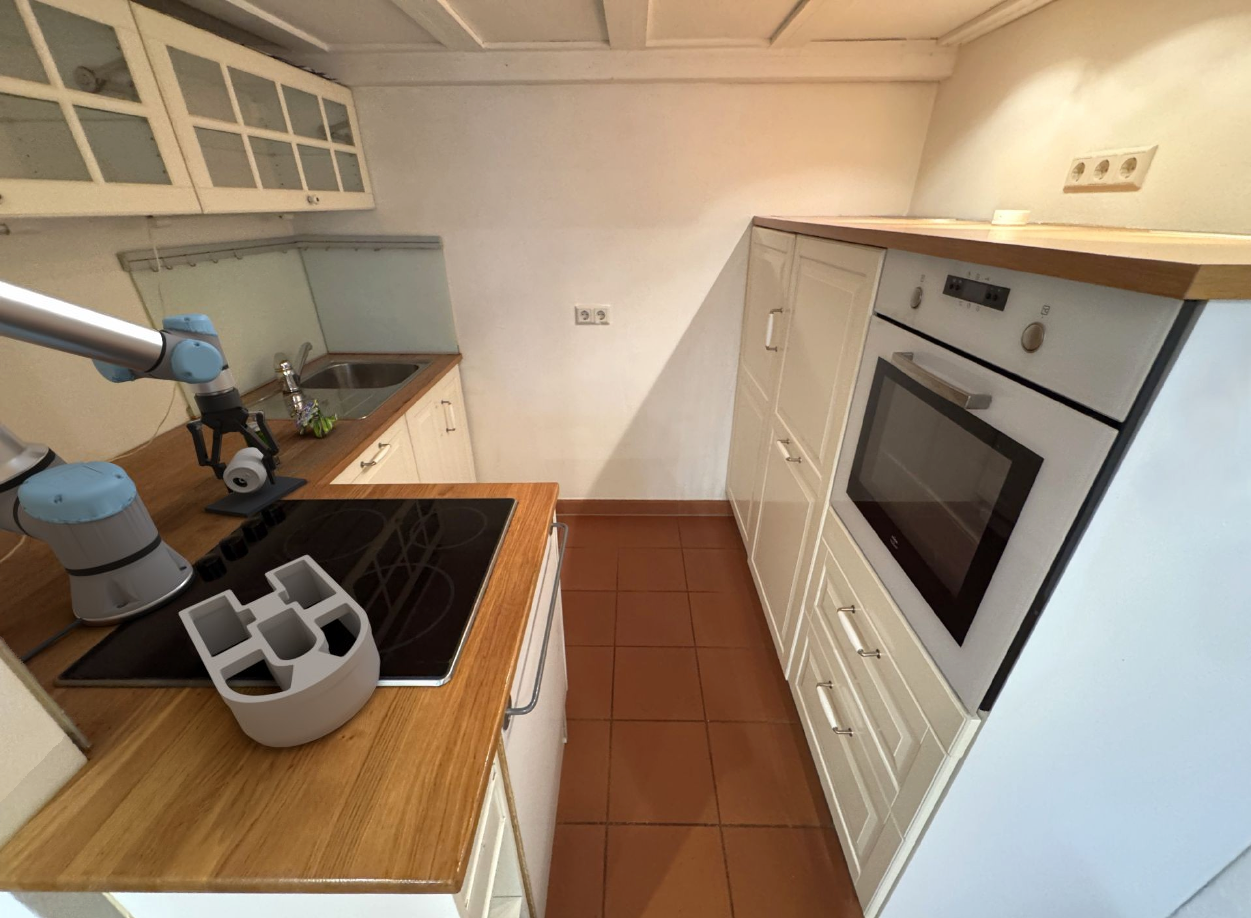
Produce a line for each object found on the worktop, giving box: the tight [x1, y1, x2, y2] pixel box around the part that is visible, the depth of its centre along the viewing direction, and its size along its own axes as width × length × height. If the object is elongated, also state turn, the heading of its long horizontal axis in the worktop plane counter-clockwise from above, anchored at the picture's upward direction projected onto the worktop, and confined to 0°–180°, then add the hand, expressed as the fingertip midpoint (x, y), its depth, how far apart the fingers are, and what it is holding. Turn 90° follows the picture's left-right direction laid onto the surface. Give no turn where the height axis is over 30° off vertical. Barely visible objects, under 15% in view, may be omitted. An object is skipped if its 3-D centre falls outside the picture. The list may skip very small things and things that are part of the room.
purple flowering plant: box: [290, 398, 339, 438], centre depth 149 cm, size 11×11×12 cm
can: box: [223, 447, 267, 493], centre depth 114 cm, size 8×8×12 cm
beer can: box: [242, 421, 281, 469], centre depth 127 cm, size 5×5×12 cm
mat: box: [203, 475, 308, 518], centre depth 116 cm, size 16×12×1 cm
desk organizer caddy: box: [178, 554, 381, 748], centre depth 68 cm, size 17×28×9 cm, turn 50°
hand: (253, 486), depth 114 cm, fingers closed on can, 7 cm apart
